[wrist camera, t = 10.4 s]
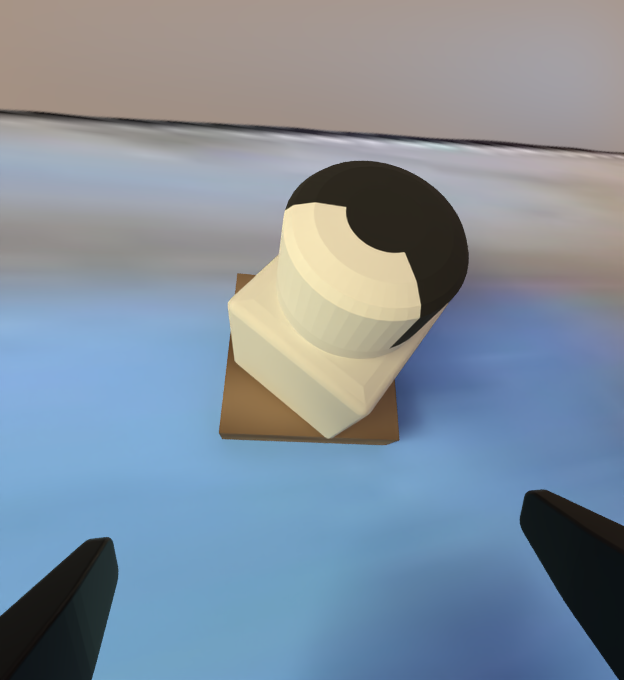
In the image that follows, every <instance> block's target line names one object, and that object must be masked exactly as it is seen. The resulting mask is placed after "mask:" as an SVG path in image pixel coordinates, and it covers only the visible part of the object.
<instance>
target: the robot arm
mask: <svg viewBox="0 0 624 680" xmlns="http://www.w3.org/2000/svg"><path fill="white" fill-rule="evenodd" d="M520 525H521V528H522V531H523V533H524V534H525V536H526V538H527V539H528V541H529V543H530V545H531V546H532V548H533V550H534V551H535V553H536V555H537V556H538V558H539V560H540V561H541V563H542V565H543V567H544V568H545V570H546V572H547V573H548V575H549V577H550V578H551V580H552V582H553V584H554V585H555V587H556V589H557V590H558V592H559V593H560V595H561V597H562V598H563V600H564V601H565V603H566V604H567V606H568V607H569V609H570V610H571V612H572V613H573V615H574V616H575V618H576V619H577V621H578V622H579V623H580V625H581V626H582V628H583V629H584V631H585V632H586V633H587V635H588V636H589V638H590V639H591V641H592V642H593V643H594V645H595V646H596V648H597V649H598V651H599V652H600V653H601V655H602V656H603V658H604V659H605V661H606V662H607V663H608V665H609V666H610V668H611V669H612V671H613V672H614V674H615V675H616V676H617V678H618V679H619V680H624V526H623V525H620V524H618V523H616V522H614V521H612V520H610V519H608V518H605V517H603V516H601V515H599V514H597V513H595V512H593V511H591V510H588V509H586V508H584V507H582V506H580V505H578V504H576V503H573V502H571V501H569V500H567V499H565V498H563V497H561V496H559V495H556V494H554V493H552V492H550V491H548V490H544V489H540V490H531V491H528V492H527V493H526V494H525V496H524V501H523V505H522V510H521V515H520ZM117 581H118V564H117V559H116V554H115V549H114V544H113V541H112V539H111V538H109V537H103V538H94V539H89V540H87V541H85V542H84V543H83V544H82V545H80V546H79V547H78V548H77V549H76V550H75V551H74V552H72V553H71V554H70V555H69V556H68V557H67V558H66V559H65V560H63V561H62V562H61V563H60V564H59V565H58V566H57V567H55V568H54V569H53V570H52V571H51V572H50V573H49V574H48V575H46V576H45V577H44V578H43V579H42V580H41V581H40V582H38V583H37V584H36V585H35V586H34V587H33V588H32V589H30V590H29V591H28V592H27V593H26V594H25V595H24V596H23V597H21V598H20V599H19V600H18V601H17V602H16V603H15V604H13V605H12V606H11V607H10V608H9V609H8V610H7V611H6V612H4V613H3V614H2V615H1V616H0V680H92V677H93V673H94V669H95V666H96V662H97V659H98V655H99V651H100V647H101V643H102V639H103V635H104V632H105V628H106V624H107V620H108V616H109V612H110V608H111V604H112V601H113V597H114V593H115V589H116V585H117Z"/></svg>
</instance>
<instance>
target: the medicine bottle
mask: <svg viewBox="0 0 624 680" xmlns="http://www.w3.org/2000/svg"><path fill="white" fill-rule="evenodd" d="M468 263H469V252H468V246H467V240H466V236H465V232H464V229H463V226H462V224H461V221H460V219H459V217H458V215H457V214H456V212H455V210H454V209H453V207H452V206H451V205H450V203H449V202H448V201H447V200H446V198H445V197H444V196H443V195H442V194H441V193H440V192H439V191H438V190H437V189H435V188H434V187H433V186H432V185H430V184H429V183H428V182H426V181H425V180H423V179H422V178H420V177H418V176H417V175H415V174H413V173H411V172H409V171H407V170H404V169H402V168H399V167H396V166H393V165H389V164H386V163H380V162H374V161H350V162H343V163H339V164H336V165H333V166H330V167H328V168H325V169H323V170H321V171H319V172H317V173H315V174H314V175H312V176H310V177H309V178H307V179H306V180H305V181H304V182H303V183H301V184H300V185H299V187H298V188H297V189H296V190H295V191H294V193H293V194H292V196H291V198H290V199H289V201H288V204H287V206H286V209H285V213H284V219H283V226H282V234H281V243H280V251H279V255H278V256H277V257H276V258H275V259H273V260H272V261H271V262H270V263H269V264H268V265H267V266H266V267H265V268H264V269H263V270H261V271H260V272H259V273H258V274H257V275H256V276H255V277H254V278H253V279H252V280H251V281H250V282H248V283H247V284H246V285H245V286H244V287H243V288H242V289H241V290H240V291H239V292H238V293H236V294H235V295H234V296H233V297H232V298H231V299H230V301H229V303H228V312H229V320H230V328H231V336H232V344H233V352H234V360H235V362H236V363H237V364H238V365H239V366H240V367H242V368H243V369H244V370H245V371H246V372H248V373H249V374H250V375H251V376H252V377H254V378H255V379H256V380H257V381H258V382H260V383H261V384H262V385H263V386H264V387H266V388H267V389H268V390H269V391H270V392H272V393H273V394H274V395H275V396H276V397H278V398H279V399H280V400H281V401H282V402H284V403H285V404H286V405H287V406H288V407H290V408H291V409H292V410H293V411H294V412H296V413H297V414H298V415H299V416H300V417H302V418H303V419H304V420H305V421H306V422H308V423H309V424H310V425H311V426H312V427H314V428H315V429H316V430H317V431H318V432H320V433H321V434H322V435H323V436H324V437H326V438H328V439H329V438H333V437H334V436H336V435H338V434H339V433H341V432H342V431H344V430H345V429H347V428H349V427H350V426H352V425H353V424H355V423H356V422H358V421H360V420H361V419H363V418H364V417H366V416H367V415H369V414H370V413H371V411H372V410H373V409H374V407H375V406H376V404H377V403H378V402H379V400H380V399H381V397H382V396H383V395H384V393H385V392H386V390H387V389H388V388H389V386H390V385H391V383H392V382H393V381H394V379H395V378H396V376H397V375H398V374H399V372H400V371H401V369H402V368H403V367H404V365H405V364H406V362H407V361H408V359H409V358H410V357H411V355H412V354H413V352H414V351H415V350H416V348H417V347H418V345H419V344H420V343H421V341H422V340H423V338H424V337H425V336H426V334H427V333H428V331H429V330H430V329H431V327H432V326H433V324H434V323H435V322H436V320H437V319H438V317H439V316H440V315H441V313H442V312H443V310H444V309H445V308H446V306H447V305H448V303H449V302H450V301H451V300H452V298H453V297H454V296H455V295H456V294H457V293H458V291H459V289H460V288H461V286H462V284H463V282H464V279H465V277H466V274H467V269H468Z"/></svg>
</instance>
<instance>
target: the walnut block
mask: <svg viewBox="0 0 624 680" xmlns="http://www.w3.org/2000/svg"><path fill="white" fill-rule="evenodd" d="M255 276H256V275H249V274H239V273H237V282H236V290H235V294H236V293H238V292H239V291H240V290H241V289H242V288H243V287H244V286H245V285H246V284H247V283H248V282H250V281H251V280H252V279H253V278H254V277H255ZM219 434H220V436H221V438H222V439H234V440H260V441H287V442H314V443H340V444H367V445H387V444H390V443H393V442H396V441H399V428H398V415H397V402H396V390H395V379H394V381H393V382H392V383H391V385H390V386H389V388H388V389H387V390H386V392H385V393H384V395H383V396H382V397H381V399H380V400H379V402H378V403H377V404H376V406H375V407H374V409H373V410H372V411H371V413H370V414H369V415H367V416H366V417H364V418H363V419H361V420H360V421H358V422H356V423H355V424H353V425H352V426H350V427H349V428H347V429H345V430H344V431H342V432H341V433H339V434H338V435H336V436H334V437H333V438H329V439H328V438H326V437H324V436H323V435H322V434H321V433H320V432H318V431H317V430H316V429H315V428H314V427H312V426H311V425H310V424H309V423H308V422H306V421H305V420H304V419H303V418H302V417H300V416H299V415H298V414H297V413H296V412H294V411H293V410H292V409H291V408H290V407H288V406H287V405H286V404H285V403H284V402H282V401H281V400H280V399H279V398H278V397H276V396H275V395H274V394H273V393H272V392H270V391H269V390H268V389H267V388H266V387H264V386H263V385H262V384H261V383H260V382H258V381H257V380H256V379H255V378H254V377H252V376H251V375H250V374H249V373H248V372H246V371H245V370H244V369H243V368H242V367H240V366H239V365H238V364H237V363H236V362H235V360H234V352H233V344H232V336H231V333H230V342H229V350H228V359H227V367H226V376H225V385H224V393H223V402H222V410H221V419H220V427H219Z"/></svg>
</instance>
